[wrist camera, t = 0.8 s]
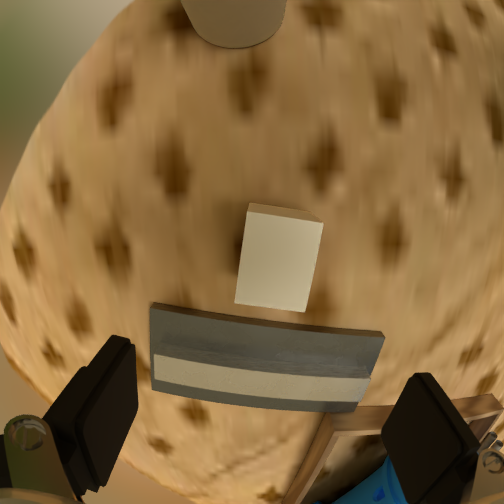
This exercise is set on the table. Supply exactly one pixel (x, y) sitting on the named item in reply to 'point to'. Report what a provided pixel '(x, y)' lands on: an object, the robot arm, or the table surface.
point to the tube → (376, 488)
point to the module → (278, 257)
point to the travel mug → (235, 20)
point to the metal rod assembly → (489, 441)
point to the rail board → (260, 347)
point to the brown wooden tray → (371, 422)
